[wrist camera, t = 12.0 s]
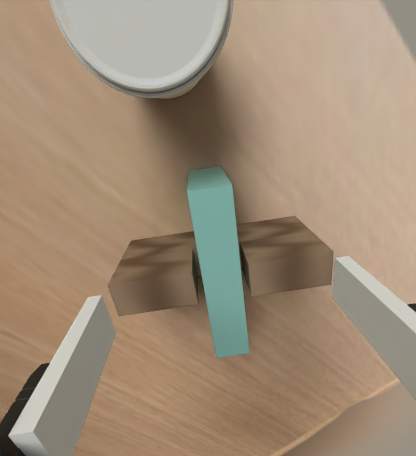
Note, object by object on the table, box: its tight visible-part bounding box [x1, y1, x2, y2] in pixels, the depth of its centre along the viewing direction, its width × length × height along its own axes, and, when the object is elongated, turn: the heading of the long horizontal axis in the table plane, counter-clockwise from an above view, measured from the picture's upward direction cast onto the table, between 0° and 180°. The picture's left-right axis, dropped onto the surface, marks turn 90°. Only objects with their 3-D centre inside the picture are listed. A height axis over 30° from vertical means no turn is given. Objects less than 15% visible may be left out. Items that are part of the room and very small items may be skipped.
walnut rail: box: [108, 216, 333, 316], centre depth 27 cm, size 20×4×9 cm, turn 98°
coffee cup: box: [50, 0, 233, 99], centre depth 18 cm, size 9×9×12 cm
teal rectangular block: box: [187, 166, 249, 358], centre depth 27 cm, size 4×18×9 cm, turn 8°
